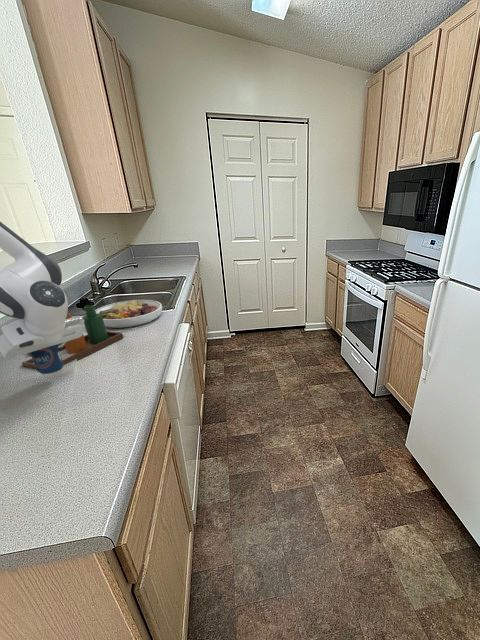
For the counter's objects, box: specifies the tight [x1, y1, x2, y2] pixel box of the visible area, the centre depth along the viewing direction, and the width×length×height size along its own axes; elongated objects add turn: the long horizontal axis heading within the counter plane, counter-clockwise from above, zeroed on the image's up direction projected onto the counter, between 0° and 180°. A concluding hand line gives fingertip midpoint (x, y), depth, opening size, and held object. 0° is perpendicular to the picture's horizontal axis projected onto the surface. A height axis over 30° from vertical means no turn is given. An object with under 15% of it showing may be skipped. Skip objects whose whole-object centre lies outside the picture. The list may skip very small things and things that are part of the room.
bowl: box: [95, 299, 163, 329], centre depth 157 cm, size 30×30×8 cm
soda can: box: [30, 345, 64, 375], centre depth 101 cm, size 7×7×12 cm
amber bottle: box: [63, 312, 88, 355], centre depth 122 cm, size 7×7×15 cm
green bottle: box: [81, 304, 109, 344], centre depth 131 cm, size 7×7×15 cm
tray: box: [21, 330, 124, 370], centre depth 125 cm, size 32×13×2 cm, turn 162°
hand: (43, 350), depth 101 cm, fingers closed on soda can, 7 cm apart
